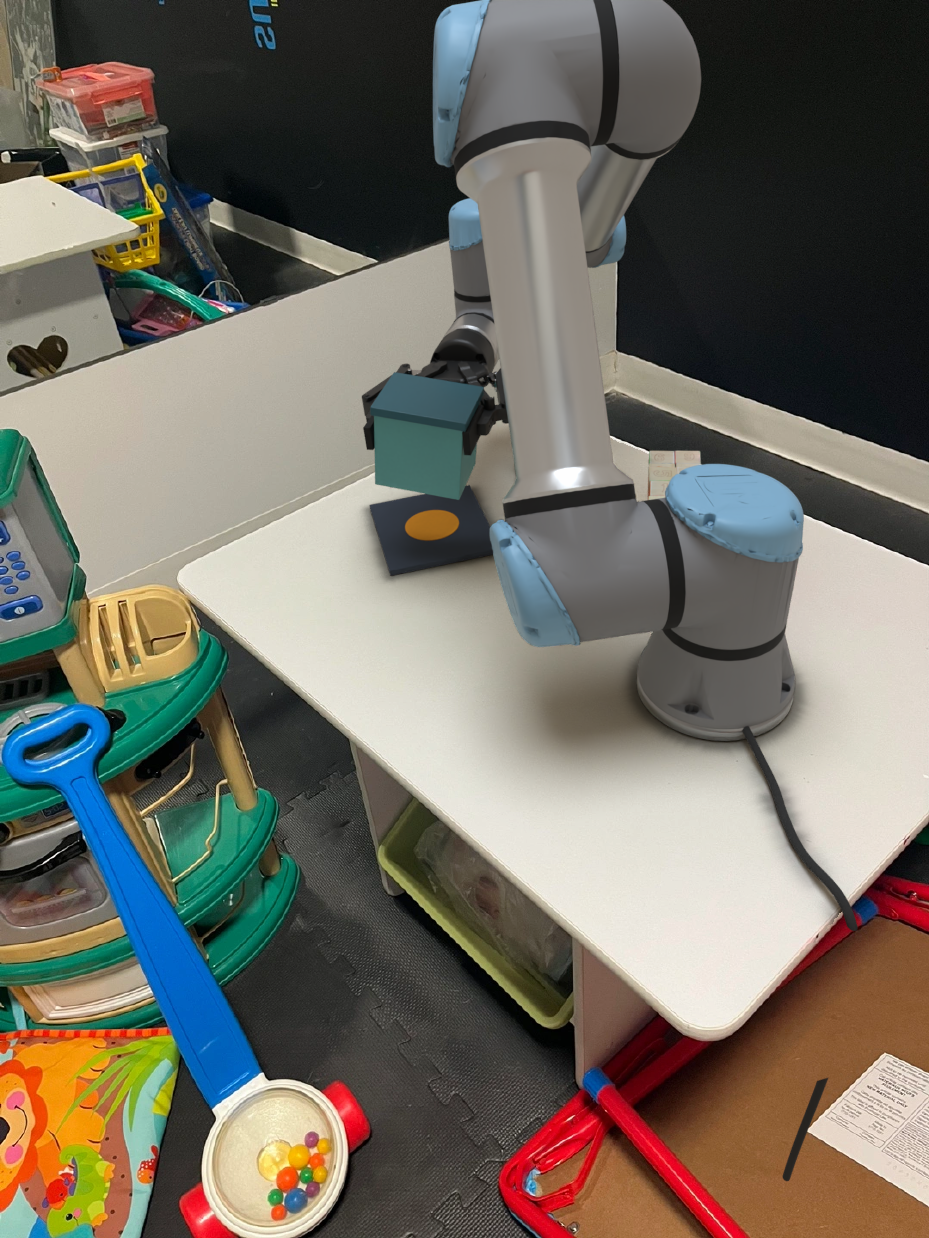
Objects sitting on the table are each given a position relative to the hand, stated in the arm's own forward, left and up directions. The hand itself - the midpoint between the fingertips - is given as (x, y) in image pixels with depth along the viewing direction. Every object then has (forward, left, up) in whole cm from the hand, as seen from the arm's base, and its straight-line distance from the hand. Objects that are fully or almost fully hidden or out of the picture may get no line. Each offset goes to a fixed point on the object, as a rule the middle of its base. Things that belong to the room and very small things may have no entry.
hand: (416, 441), depth 99 cm
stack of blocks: (-7, -27, -18) cm, 34 cm away
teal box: (+4, -1, -7) cm, 8 cm away
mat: (+10, -2, -18) cm, 21 cm away
